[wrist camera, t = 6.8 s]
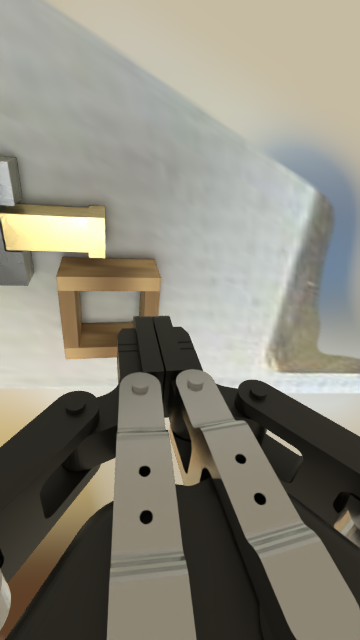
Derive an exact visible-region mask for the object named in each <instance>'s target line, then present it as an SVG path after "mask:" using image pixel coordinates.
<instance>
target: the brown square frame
mask: <svg viewBox="0 0 360 640" xmlns="http://www.w3.org/2000/svg"><path fill="white" fill-rule="evenodd" d="M56 278H57V287H58V296H59V305H60V313H61V322H62V331H63V340H64V349H65V358H66V359H86V358H111V357H117V335H118V334H119V332H120V331H121V329H122V328H133V323H82V317H81V304H80V291H140V316H151V317H152V316H158V310H159V297H160V284H161V277H160V274H159V271H158V267H157V264H156V261H155V260H154V259H114V258H75V257H63V258H62V261H61V264H60V267H59V270H58V273H57V276H56Z"/></svg>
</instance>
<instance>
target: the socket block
mask: <svg viewBox="0 0 360 640" xmlns="http://www.w3.org/2000/svg"><path fill="white" fill-rule="evenodd" d="M21 199H22V191H21V185H20V178H19V171H18V165H17V158H16V157H4V156H0V213H1V212H2V211H3V210H4V209H5V208H6V207H7V205H9V206H15V205H16V204H17V203H18V202H19V201H20V200H21ZM33 274H34V270H33V264H32V257H31V251H25V250H7V249H6V244H5V239H4V234H3V228H2V223H1V218H0V285H24V286H28V284H29V282H30V280H31V278H32V276H33Z"/></svg>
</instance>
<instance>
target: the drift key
mask: <svg viewBox="0 0 360 640" xmlns="http://www.w3.org/2000/svg"><path fill="white" fill-rule="evenodd" d="M0 218H1V223H2V228H3V234H4V239H5V244H6V249H7V250H25V251H59V252H89V258H105V252H106V235H105V206H91V205H89V208H81V207H64V206H46V205H29V204H16V205H15V206H9V205H8V206H7V207H6V208H5V209H4V210H3V211H2V212H1V213H0Z"/></svg>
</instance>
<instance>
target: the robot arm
mask: <svg viewBox="0 0 360 640" xmlns="http://www.w3.org/2000/svg"><path fill="white" fill-rule="evenodd" d="M117 369H118V386H117V387H116V388H115V389H114V390H113V391H112V392H110V393H108V394H106V395H103V396H100V397H97V398H96V397H95V396H94V395H93V394H91V393H89V392H85V391H74V392H69V393H67V394H65V395H63V396H61V397H59V398H58V399H57V400H56V401H55V402H53V403H52V404H51V405H50V406H49V407H48V408H46V409H45V410H44V411H43V412H42V413H40V414H39V415H38V416H37V417H36V418H35V419H33V420H32V421H31V422H30V423H29V424H27V425H26V426H25V427H24V428H23V429H22V430H20V431H19V432H18V433H17V434H16V435H14V436H13V437H12V438H11V439H10V440H8V441H7V442H6V443H5V444H4V445H3V446H1V447H0V630H1V628H2V626H3V625H4V623H5V621H6V619H7V616H8V613H9V609H10V604H11V594H10V590H9V587H8V582H9V581H10V580H11V579H12V577H13V576H14V575H15V574H16V572H17V571H18V570H19V569H20V567H21V566H22V565H23V563H24V562H25V561H26V560H27V558H28V557H29V556H30V555H31V554H32V552H33V551H34V550H35V549H36V547H37V546H38V545H39V544H40V542H41V541H42V540H43V539H44V537H45V536H46V535H47V533H48V532H49V531H50V530H51V528H52V527H53V526H54V525H55V524H56V522H57V521H58V520H59V519H60V517H61V516H62V515H63V514H64V512H65V511H66V510H67V508H68V507H69V506H70V505H71V504H72V502H73V501H74V500H75V499H76V497H77V496H78V495H79V494H80V492H81V491H82V490H83V488H84V487H85V486H86V485H87V484H88V482H89V481H90V479H91V478H92V477H93V476H94V475H95V473H96V472H97V471H98V469H99V468H100V465H101V464H102V463H104V462H106V461H109V460H111V459H113V458H115V457H116V463H115V484H114V501H112V502H111V503H109V504H107V505H105V506H104V507H102V508H101V509H99V510H98V511H97V512H96V513H95V514H94V515H93V516H91V517H90V518H89V520H88V521H87V522H86V523H85V524H84V525H83V526H82V528H81V529H80V530H79V532H78V533H77V535H76V536H75V538H74V539H73V541H72V542H71V544H70V545H69V546H68V548H67V549H66V551H65V553H64V554H63V555H62V557H61V558H60V560H59V561H58V563H57V564H56V566H55V567H54V569H53V570H52V572H51V573H50V574H49V576H48V578H47V579H46V580H45V582H44V583H43V585H42V586H41V588H40V589H39V591H38V592H37V594H36V595H35V597H34V598H33V599H32V601H31V603H30V604H29V605H28V607H27V608H26V610H25V612H24V613H23V614H22V616H21V617H20V619H19V620H18V622H17V623H16V625H15V626H14V627H13V629H12V630H11V632H10V633H9V635H8V636H7V638H6V639H5V640H360V437H359V436H358V435H356V434H354V433H352V432H351V431H349V430H347V429H345V428H344V427H342V426H340V425H338V424H337V423H335V422H333V421H331V420H330V419H328V418H326V417H324V416H322V415H321V414H319V413H317V412H315V411H314V410H312V409H310V408H308V407H307V406H305V405H303V404H301V403H300V402H298V401H296V400H294V399H293V398H291V397H289V396H287V395H286V394H284V393H282V392H280V391H279V390H277V389H275V388H273V387H272V386H270V385H268V384H266V383H264V382H262V381H258V380H246V381H244V382H242V383H241V384H240V385H239V387H238V389H236V388H230V387H225V386H221V385H218V384H216V383H215V382H214V380H213V378H212V377H211V376H210V375H209V374H207V373H206V372H203V369H202V367H201V364H200V362H199V359H198V357H197V354H196V351H195V349H194V346H193V344H192V341H191V339H190V336H189V334H188V333H187V332H186V331H185V330H184V329H183V328H182V327H173V326H172V323H171V320H170V317H169V316H152V317H151V316H134V318H133V328H122V329H121V331H120V332H119V334H118V335H117ZM165 417H169V420H170V430H169V432H168V430H166V429H165V421H164V418H165ZM267 430H269V431H271V432H272V433H274V434H275V435H277V436H278V437H280V438H281V439H283V440H285V441H286V442H287V443H289V444H291V445H292V446H294V447H295V448H297V449H298V450H299V451H300V452H301V454H302V456H299V455H297V454H296V453H294V452H293V451H291V450H290V449H288V448H287V447H285V446H283V445H282V444H280V443H279V442H277V441H276V440H274V439H273V438H271V437H270V436H268V435H267V434H266V432H267ZM169 435H170V437H169ZM170 439H171V443H172V446H173V449H174V452H175V456H176V459H177V463H178V465H179V469H180V472H181V476H182V479H183V485H176V484H175V479H174V471H173V462H172V454H171V445H170Z"/></svg>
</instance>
